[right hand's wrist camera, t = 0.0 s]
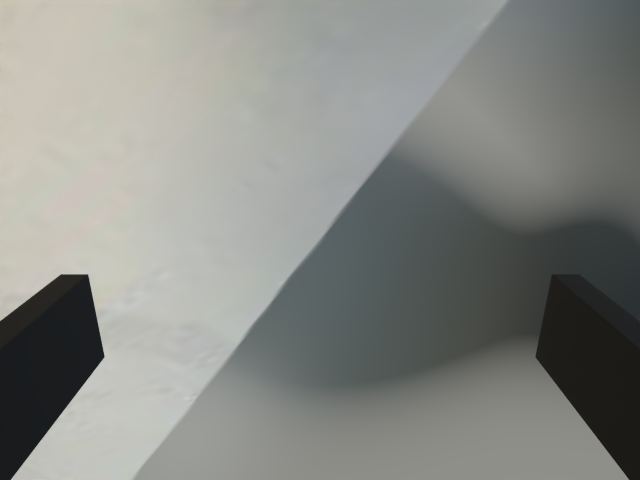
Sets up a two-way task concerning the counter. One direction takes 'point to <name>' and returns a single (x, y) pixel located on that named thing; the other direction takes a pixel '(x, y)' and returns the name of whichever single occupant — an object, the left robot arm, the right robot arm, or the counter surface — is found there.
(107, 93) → the counter surface
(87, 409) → the counter surface
